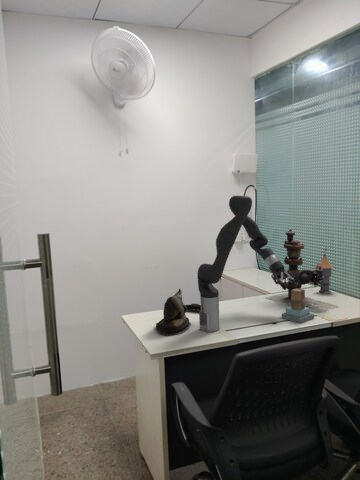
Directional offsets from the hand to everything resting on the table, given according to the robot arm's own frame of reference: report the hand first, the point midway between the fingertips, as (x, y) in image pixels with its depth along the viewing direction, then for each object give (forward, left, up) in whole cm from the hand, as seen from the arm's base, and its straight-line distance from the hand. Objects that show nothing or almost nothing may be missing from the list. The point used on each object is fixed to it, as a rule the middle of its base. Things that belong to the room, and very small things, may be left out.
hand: (291, 287), depth 207 cm
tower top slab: (0, -4, -14) cm, 14 cm away
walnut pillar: (0, -4, -10) cm, 11 cm away
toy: (-34, +46, -16) cm, 59 cm away
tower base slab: (0, -4, -16) cm, 17 cm away
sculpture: (-60, +28, -16) cm, 68 cm away
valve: (+26, +13, -16) cm, 34 cm away
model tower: (+56, +17, -16) cm, 61 cm away
